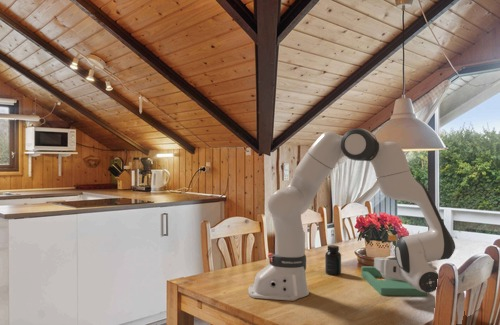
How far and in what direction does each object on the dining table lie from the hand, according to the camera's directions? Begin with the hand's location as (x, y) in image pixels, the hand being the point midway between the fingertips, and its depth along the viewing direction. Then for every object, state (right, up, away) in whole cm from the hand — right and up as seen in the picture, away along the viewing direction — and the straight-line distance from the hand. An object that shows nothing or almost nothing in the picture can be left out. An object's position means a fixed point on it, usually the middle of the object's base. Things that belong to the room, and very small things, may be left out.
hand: (395, 259), depth 157 cm
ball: (+2, -6, +8) cm, 10 cm away
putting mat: (0, -11, +5) cm, 13 cm away
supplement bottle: (-20, -11, +21) cm, 31 cm away
